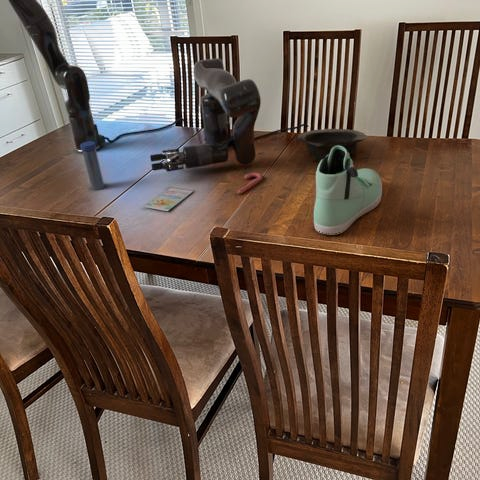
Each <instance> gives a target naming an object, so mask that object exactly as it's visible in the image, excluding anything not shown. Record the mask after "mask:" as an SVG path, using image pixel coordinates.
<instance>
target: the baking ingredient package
mask: <svg viewBox="0 0 480 480" xmlns="http://www.w3.org/2000/svg"><path fill="white" fill-rule="evenodd" d="M193 192H194V191H193V190H189V189H188V190H187V189H180V188H175V187H169V188H168V189H166V190H165V191H163V192H162V193H161V194H159V195H157V197H155V198H153V199H152V200H151V201H149V202H148V203H147V204H145V205H144V206H143V208H147V209H152V210H153V209H154V210H158V211H164V212H169V211H170V210H171V209H172V208H173V207H175V206H176V205H178V204H179V203H180V202H182V200H184V199H185V198H186V197H189V195H190V194H192V193H193Z"/></svg>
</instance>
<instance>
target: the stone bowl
mask: <svg viewBox="0 0 480 480" xmlns="http://www.w3.org/2000/svg"><path fill="white" fill-rule="evenodd" d="M368 137H369V136H368V135H367V134H365V133H364V132H362V131H359V130H355V129H348V128H324V129H314V130H308V131H303V132H301V133H299V134H298V136H297V137H296V140H298V141H299V142H302V143H305V148H306V150H307V152H308V154H309V155H310V156H312V157H313V158H314V161H315V162H317V163H320V161H321V160H322V159H324V158H325V157H326V156H327V155H329V154H330V152H331V149H332V148H333V147H334V146H342V147H344V148H345V149H346V150H347V152H348V153H349V156H350V158H353V157H354V156H355V154H356V149H357V144H358V143H360V142H362V141H364V140H366V139H368Z"/></svg>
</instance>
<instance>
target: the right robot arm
mask: <svg viewBox="0 0 480 480" xmlns="http://www.w3.org/2000/svg"><path fill="white" fill-rule="evenodd" d="M192 70H193V71H192V73H193V74H192V75H193V78H194V81H195V83H196V84H197V86H198V87H200V88H202V89H204V90H205V91H207V92H208V93H206V94H204V95H202V96H201V97H200V105H201V112H202V121H203V130H204V139H203V140H204V142H205V143H201V144H194V145H187V146H183V147H182V151H180V149H179V148H171V149H164V150H161V152H160V153H156V154H150V155H149V157H150V161H151V162H155V163H152V164H151V170H152V171H154V172H155V171H160V170H164V171H166V172H167V173H169V172H175V171H181V170H184V169H185V168H186V169H188V170H189V169H193V168H195V169H196V168H200V167H201V168H202V167H207V166H210V165H211V166H212V165H216V164H223V163H226V162H227V161H228V159H229V151H231V150H233V153H234V157H235V160H236V162H237V163H238V164H240V165H243V166H246V165H250V164H252V163H253V162H254V161H255V159H256V155H257V154H256V148H255V140H258V139H261V138H264V137H268V136H271V135H274V134H277V133H280V132H285V131H291V130H296V129H297V130H298V129H300V128H302V127H306V128H309V125H308V124H306V123H301V124H299V125H297V126H293V127H286V128H282V129H281V128H280V129H277V130H274V131H271V132H268V133H265V134H261V135H258V136H255V124H256V122H257V119H258V116H259V112H260V108H261V104H262V103H261V100H262V99H261V98H262V97H261V93H260V90H259V88H258V85H257V84H256V82H255V81H254V80H253V79H251V78H247V79H246V78H245V79H243V80H240V81H237V80H236V78H235V76H234V75H233V74H231V73H230V72H229V71H227V70H226V69H225V66H224V62H223V60H222V59H221V58H219V57H218V58H208V59H201V60H198V61H196V62H195V64H194V66H193V68H192ZM228 117H229V118H230V119H231V118H232V119H235V118H236V119H235V121H234V123H233V124H232V125H233V126H232V132H231V123H230V122H229V121H228ZM159 161H163V162H159Z"/></svg>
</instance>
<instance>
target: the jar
mask: <svg viewBox="0 0 480 480" xmlns="http://www.w3.org/2000/svg"><path fill="white" fill-rule="evenodd" d="M82 152H83V153H82V156H83V159H84V163H85V167H86V171H87V175H88V179H89V183H90V187H91V189H92V190H93V191H97V190H98V191H99V190H102V189H104V188H105V182H104V177H103V173H102V170H101V165H100V162H99V156H98V152H97V150H96V149H94V150H92V151H82Z"/></svg>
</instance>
